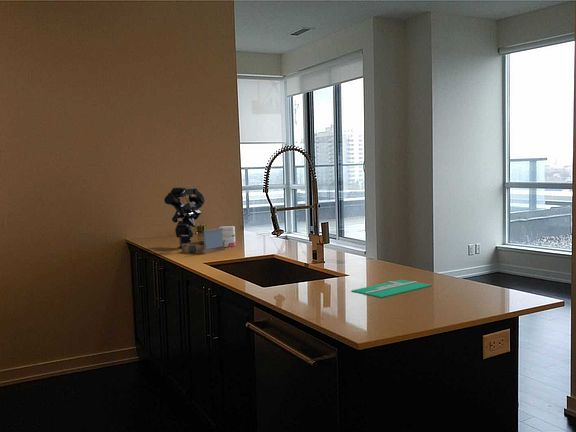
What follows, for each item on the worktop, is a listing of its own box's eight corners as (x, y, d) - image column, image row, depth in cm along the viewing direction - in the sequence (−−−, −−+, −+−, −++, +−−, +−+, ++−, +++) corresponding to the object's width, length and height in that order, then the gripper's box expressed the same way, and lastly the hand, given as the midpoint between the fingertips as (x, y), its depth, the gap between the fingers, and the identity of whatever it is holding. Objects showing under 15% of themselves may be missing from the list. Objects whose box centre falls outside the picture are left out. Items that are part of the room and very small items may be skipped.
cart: (179, 252, 331) (179, 244, 331) (202, 247, 346) (202, 240, 346) (203, 254, 321) (202, 246, 320) (226, 249, 336) (225, 241, 335)
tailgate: (204, 249, 323) (203, 230, 322) (221, 246, 334) (220, 228, 334) (206, 249, 322) (205, 231, 322) (223, 246, 334) (222, 228, 333)
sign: (400, 278, 231) (431, 284, 219) (400, 281, 231) (431, 287, 219) (351, 289, 215) (381, 295, 203) (351, 292, 215) (382, 299, 203)
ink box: (235, 245, 351) (235, 225, 350) (234, 246, 346) (233, 226, 345) (221, 245, 352) (220, 226, 351) (219, 247, 347) (218, 227, 346)
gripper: (174, 198, 330) (189, 218, 324) (198, 196, 345) (212, 215, 339) (165, 212, 335) (180, 232, 329) (189, 209, 350) (203, 228, 345)
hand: (194, 226), depth 336 cm, fingers closed
